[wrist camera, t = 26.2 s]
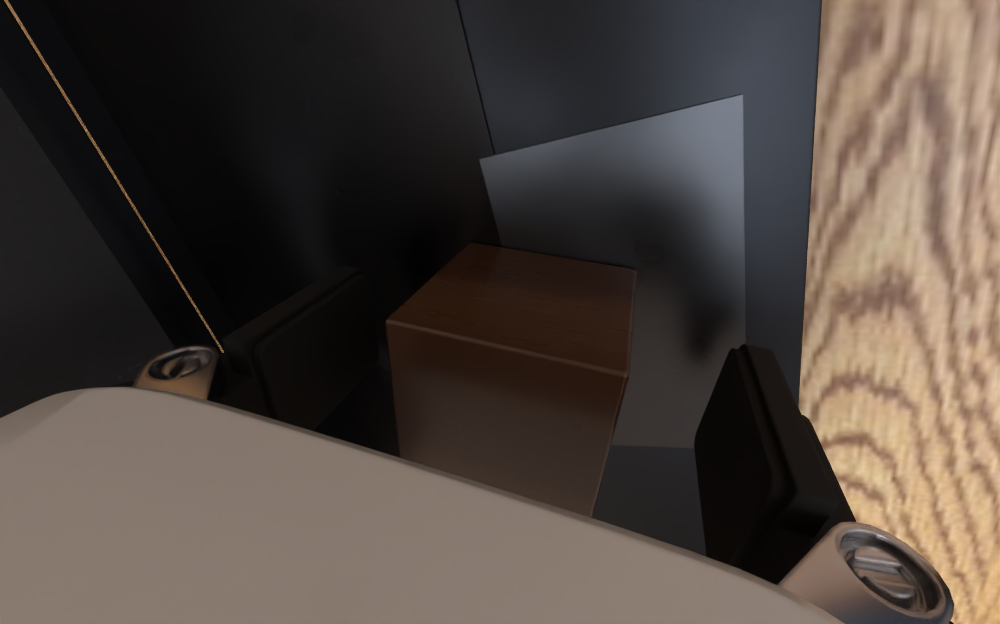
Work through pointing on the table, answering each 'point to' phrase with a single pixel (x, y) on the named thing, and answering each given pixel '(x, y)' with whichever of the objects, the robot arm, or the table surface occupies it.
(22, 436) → the robot arm
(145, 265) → the laptop screen
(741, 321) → the laptop
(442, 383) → the block
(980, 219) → the table surface
